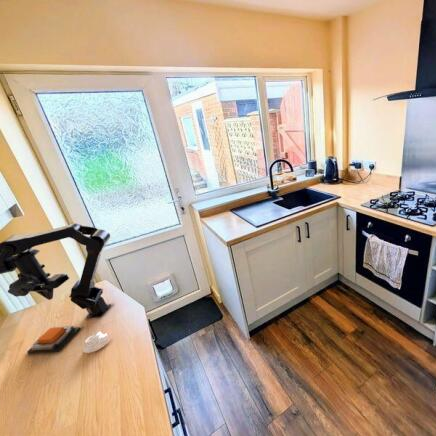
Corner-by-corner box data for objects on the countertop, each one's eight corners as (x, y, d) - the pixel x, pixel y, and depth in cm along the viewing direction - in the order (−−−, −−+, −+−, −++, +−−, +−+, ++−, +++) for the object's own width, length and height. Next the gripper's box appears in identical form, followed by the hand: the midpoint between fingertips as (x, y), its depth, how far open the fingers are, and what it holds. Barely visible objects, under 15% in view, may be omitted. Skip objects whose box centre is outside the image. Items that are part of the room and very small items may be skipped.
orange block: (67, 332, 96) (63, 326, 94) (54, 345, 91) (50, 339, 89) (54, 333, 96) (50, 327, 95) (40, 345, 91) (36, 340, 90)
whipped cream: (88, 359, 86) (81, 351, 83) (81, 349, 89) (74, 341, 87) (113, 341, 91) (107, 333, 89) (105, 332, 95) (99, 324, 92)
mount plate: (80, 329, 98) (77, 324, 97) (59, 351, 89) (55, 347, 88) (52, 330, 99) (49, 326, 98) (28, 353, 90) (24, 349, 88)
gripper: (-19, 283, 85) (7, 316, 91) (31, 279, 84) (54, 313, 90) (14, 264, 95) (36, 295, 101) (60, 260, 94) (79, 292, 100)
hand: (50, 299), depth 98 cm, fingers closed
